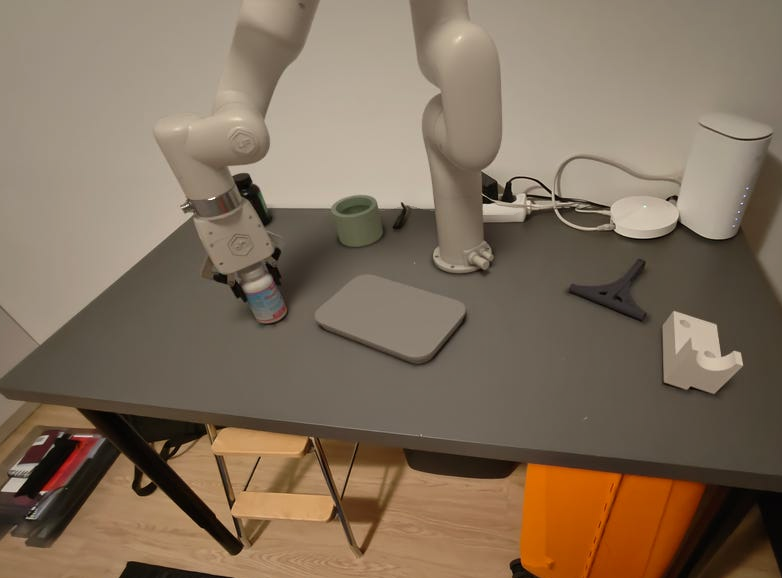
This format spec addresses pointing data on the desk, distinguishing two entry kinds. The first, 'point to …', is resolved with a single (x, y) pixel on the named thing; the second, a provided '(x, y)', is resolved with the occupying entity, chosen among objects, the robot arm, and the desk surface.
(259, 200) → the supplement bottle
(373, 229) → the green cylindrical sleeve
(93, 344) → the desk surface
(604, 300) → the bracket
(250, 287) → the pill bottle
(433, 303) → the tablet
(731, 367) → the bracket
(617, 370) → the desk surface
